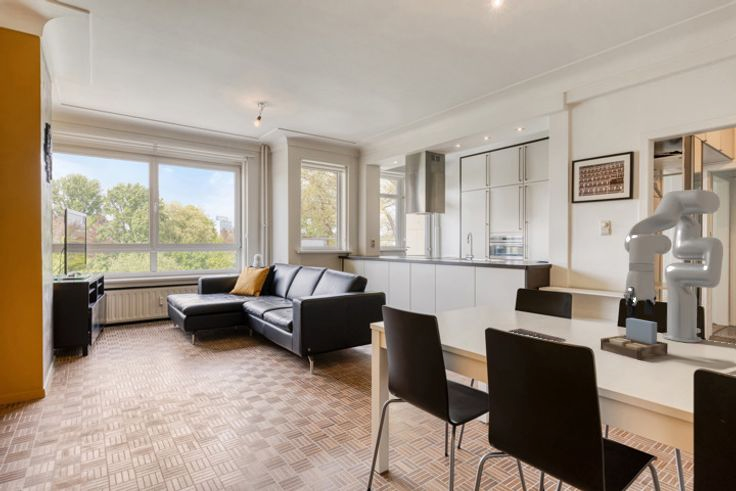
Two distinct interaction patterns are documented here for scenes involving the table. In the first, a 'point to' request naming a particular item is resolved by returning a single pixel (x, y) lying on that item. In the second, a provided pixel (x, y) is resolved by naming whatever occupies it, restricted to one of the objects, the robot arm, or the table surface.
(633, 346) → the offcut
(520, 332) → the picture frame
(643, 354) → the rack
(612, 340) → the offcut
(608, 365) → the table surface
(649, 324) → the panel
